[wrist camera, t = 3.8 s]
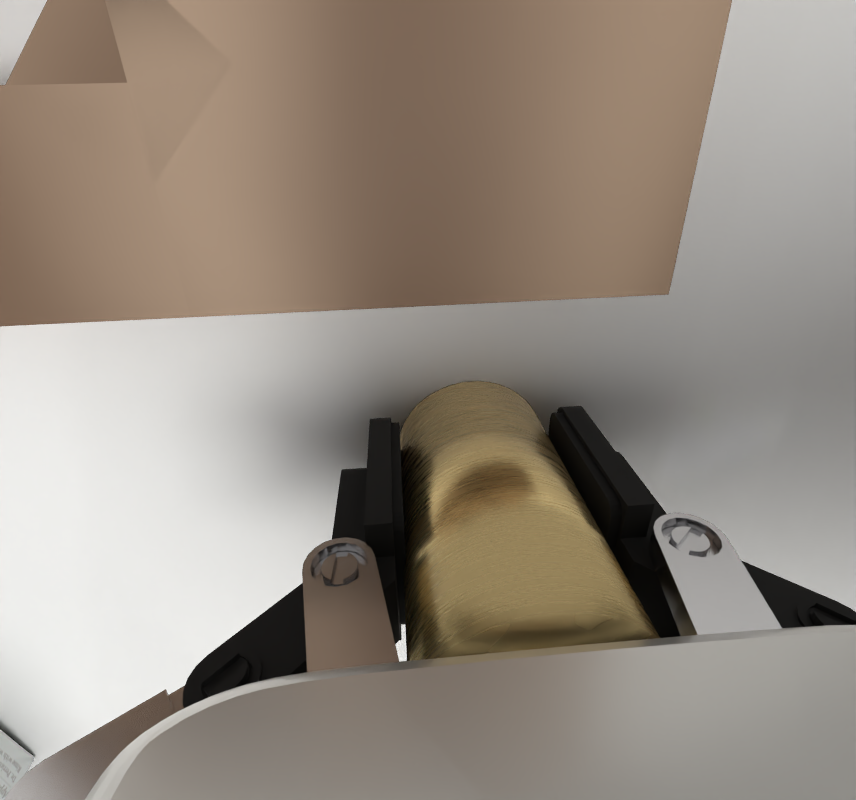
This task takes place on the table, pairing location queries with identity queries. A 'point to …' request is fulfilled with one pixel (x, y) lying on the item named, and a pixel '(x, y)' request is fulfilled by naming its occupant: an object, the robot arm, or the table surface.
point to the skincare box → (12, 763)
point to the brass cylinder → (501, 535)
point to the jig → (347, 154)
